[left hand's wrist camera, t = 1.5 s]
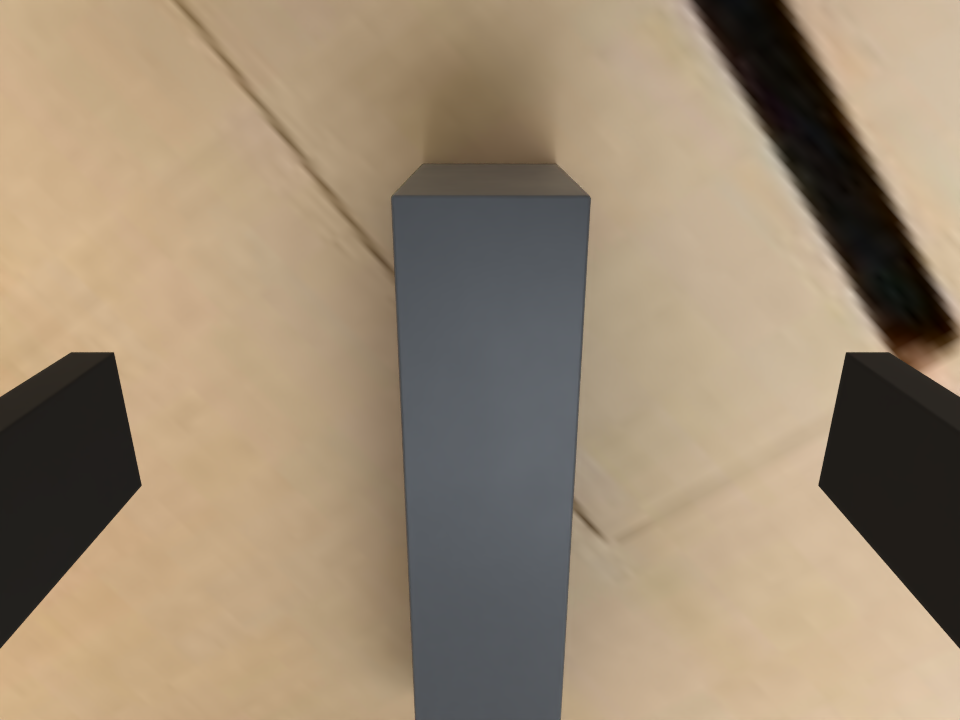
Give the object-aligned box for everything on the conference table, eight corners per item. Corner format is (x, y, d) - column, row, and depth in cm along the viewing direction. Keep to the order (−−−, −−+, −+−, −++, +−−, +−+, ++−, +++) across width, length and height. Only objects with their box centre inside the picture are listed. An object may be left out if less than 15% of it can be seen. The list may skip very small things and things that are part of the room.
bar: (421, 163, 23) (390, 195, 16) (557, 163, 23) (591, 195, 16) (437, 696, 32) (422, 880, 25) (536, 697, 32) (551, 881, 25)
